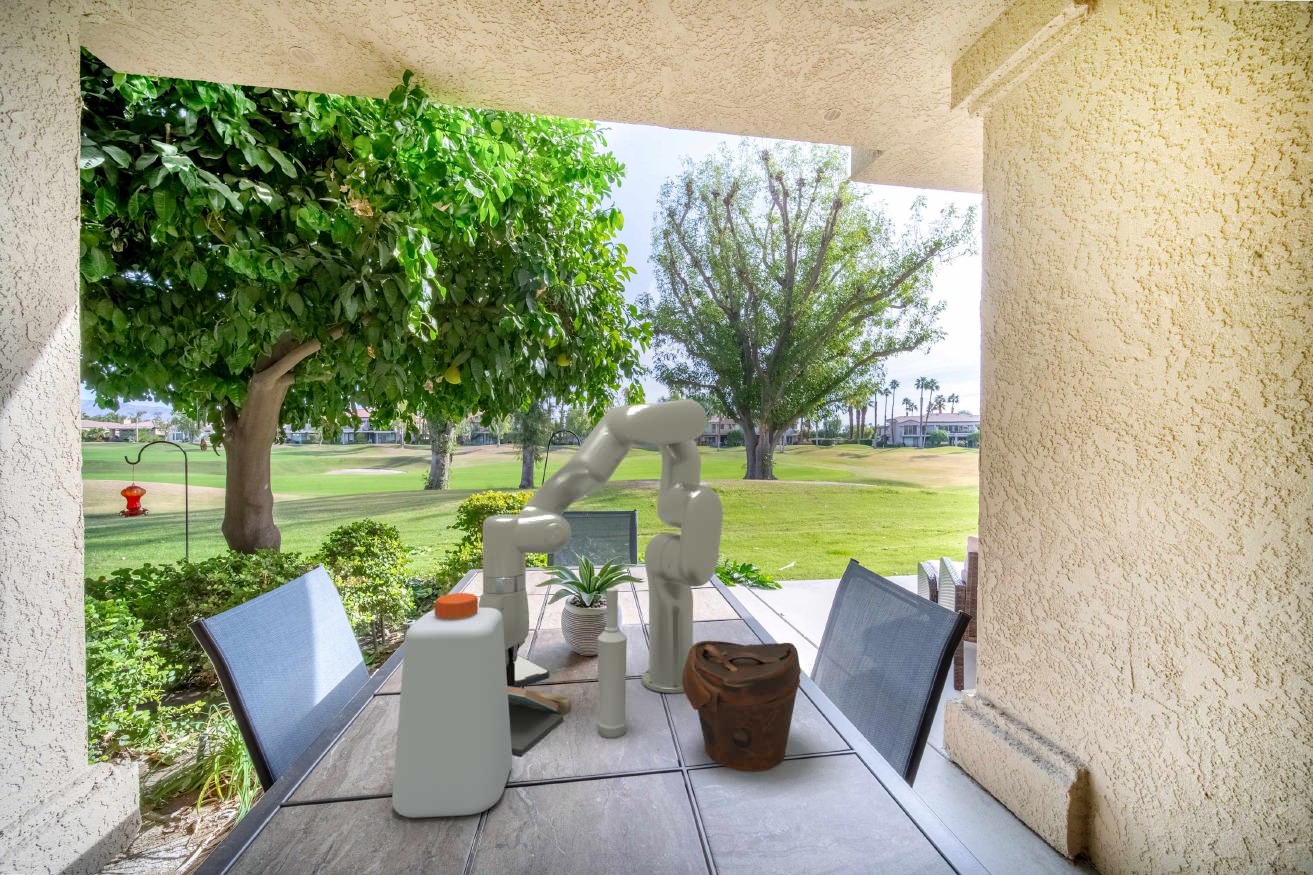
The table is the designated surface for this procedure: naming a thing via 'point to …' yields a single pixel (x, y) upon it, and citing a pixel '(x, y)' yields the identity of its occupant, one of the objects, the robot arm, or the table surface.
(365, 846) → the table surface
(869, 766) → the table surface
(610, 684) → the bottle
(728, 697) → the case
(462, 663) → the plastic bottle
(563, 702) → the tile stand
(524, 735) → the rubber mat
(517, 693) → the tile
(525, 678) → the phone case
